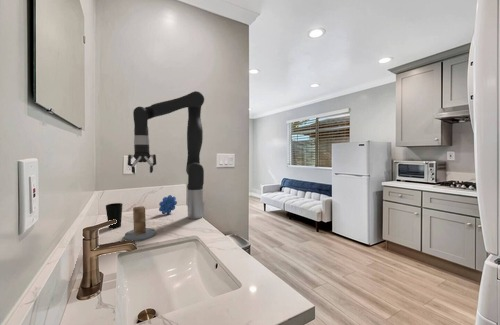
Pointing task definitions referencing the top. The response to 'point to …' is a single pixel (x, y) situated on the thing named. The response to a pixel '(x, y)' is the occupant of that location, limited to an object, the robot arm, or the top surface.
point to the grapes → (167, 204)
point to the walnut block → (139, 220)
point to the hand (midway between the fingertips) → (142, 173)
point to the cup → (114, 214)
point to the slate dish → (140, 235)
